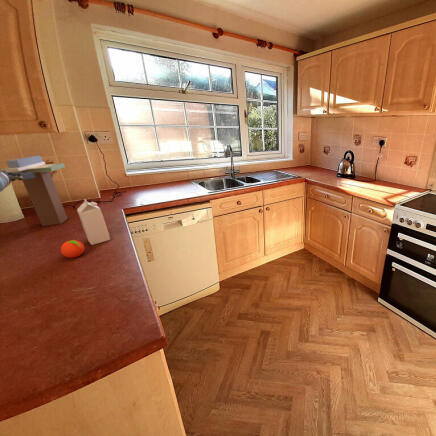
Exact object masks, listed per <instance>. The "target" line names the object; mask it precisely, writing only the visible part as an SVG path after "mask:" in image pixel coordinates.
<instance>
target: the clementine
mask: <svg viewBox="0 0 436 436" xmlns="http://www.w3.org/2000/svg"><path fill="white" fill-rule="evenodd" d="M84 251H85V246H84V243H83V242H82V241H79V240H77V239H70V240H67V241H65V242H64V243H63V244H62V245H61V246H60V253H61V254H62V255H63V256H64V257H65V258H71V259H73V258H77V257H80V256H81V255H82V254H83V253H84Z"/></svg>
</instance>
